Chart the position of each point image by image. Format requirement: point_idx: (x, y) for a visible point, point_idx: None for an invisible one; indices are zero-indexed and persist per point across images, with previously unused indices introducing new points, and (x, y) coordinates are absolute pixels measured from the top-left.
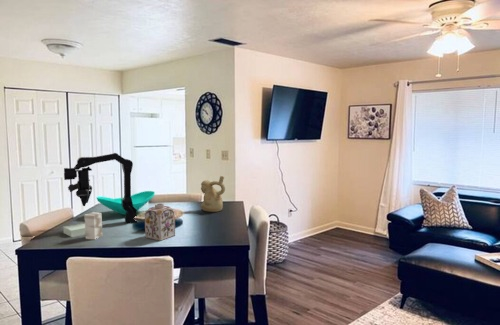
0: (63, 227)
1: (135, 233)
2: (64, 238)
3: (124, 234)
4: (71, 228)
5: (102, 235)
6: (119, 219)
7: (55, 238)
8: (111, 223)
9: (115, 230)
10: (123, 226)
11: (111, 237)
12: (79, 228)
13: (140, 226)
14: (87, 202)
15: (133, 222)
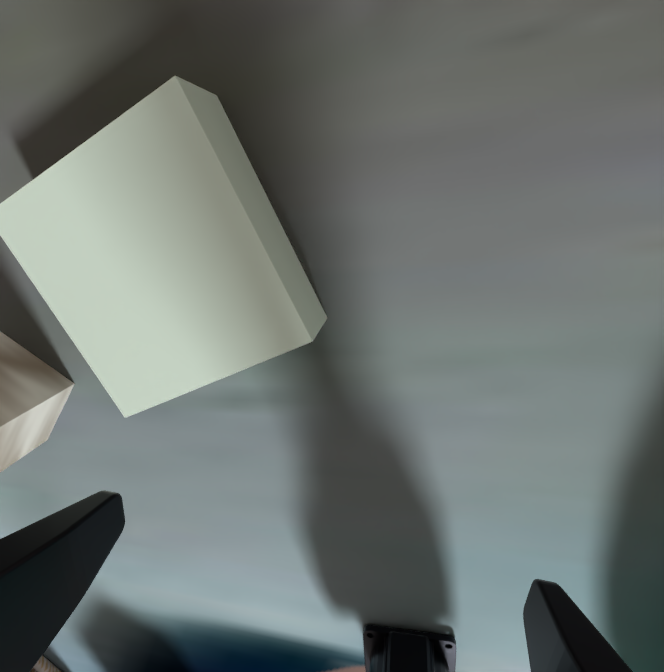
0: (175, 81)
1: (89, 604)
2: (10, 147)
3: None
4: (71, 206)
5: (41, 443)
6: None
7: (14, 44)
8: (441, 539)
9: (186, 529)
10: (289, 589)
11: (18, 484)
12: (63, 294)
13: (250, 663)
14: (525, 627)
15: (365, 664)
